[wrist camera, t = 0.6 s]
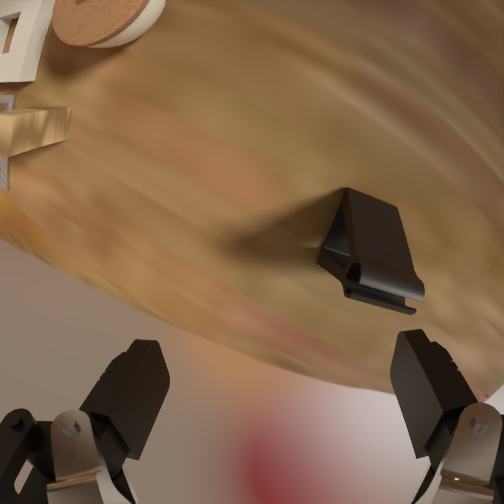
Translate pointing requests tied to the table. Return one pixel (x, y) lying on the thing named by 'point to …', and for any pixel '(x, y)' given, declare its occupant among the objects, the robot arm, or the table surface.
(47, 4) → the socket block
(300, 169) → the table surface
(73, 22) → the lidded jar
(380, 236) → the phone stand
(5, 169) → the lever bracket
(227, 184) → the table surface
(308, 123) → the table surface
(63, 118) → the peg
